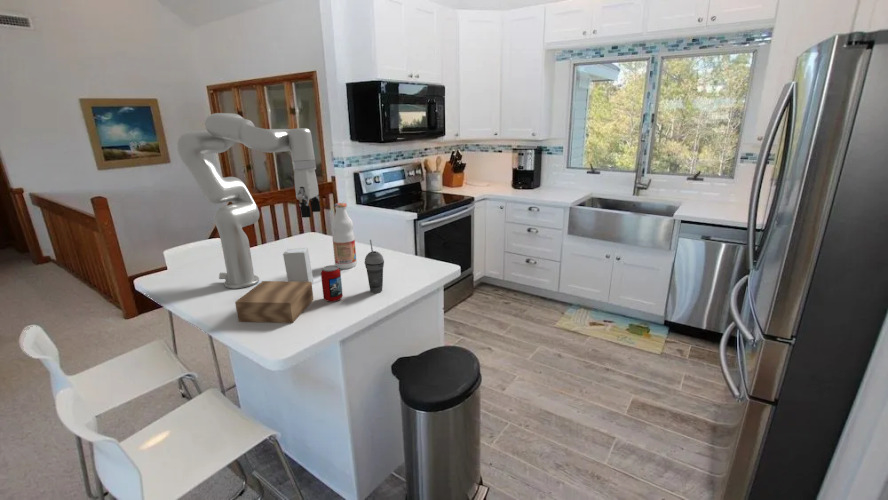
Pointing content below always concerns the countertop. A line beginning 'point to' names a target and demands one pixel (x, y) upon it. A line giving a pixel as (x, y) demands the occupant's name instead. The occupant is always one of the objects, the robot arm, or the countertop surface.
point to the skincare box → (298, 265)
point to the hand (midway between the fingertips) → (311, 214)
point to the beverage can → (331, 283)
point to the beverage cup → (374, 270)
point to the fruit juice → (343, 238)
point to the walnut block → (275, 302)
